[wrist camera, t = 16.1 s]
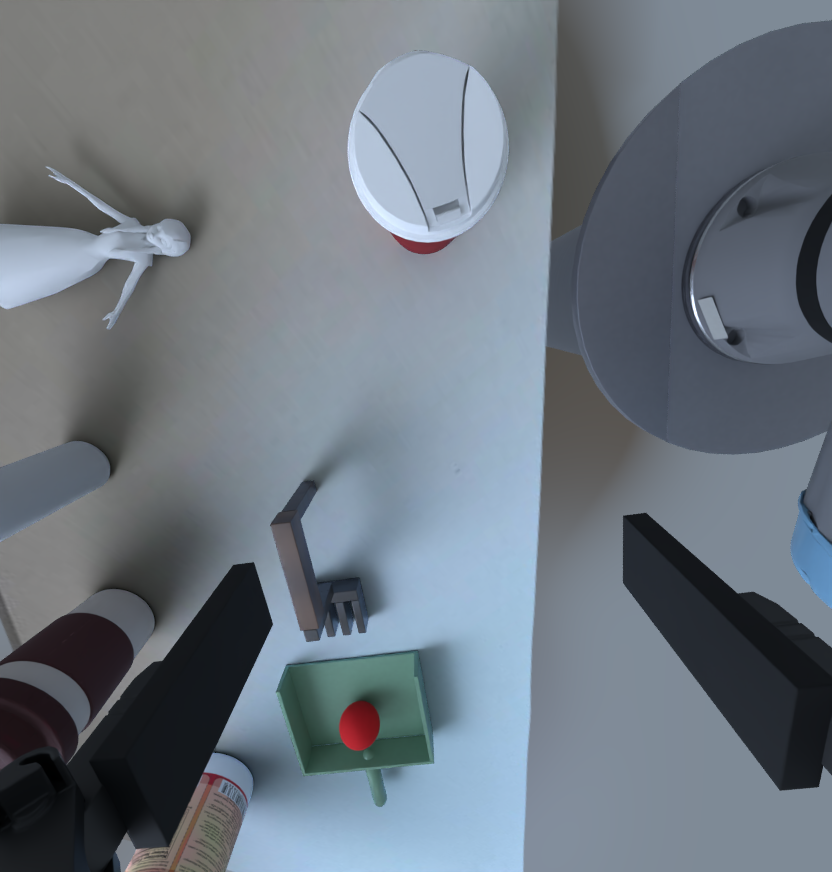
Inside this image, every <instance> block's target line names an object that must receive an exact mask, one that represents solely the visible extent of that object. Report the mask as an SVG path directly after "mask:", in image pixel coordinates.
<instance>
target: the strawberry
mask: <svg viewBox="0 0 832 872" xmlns="http://www.w3.org/2000/svg"><path fill="white" fill-rule="evenodd" d="M379 729H380V718H379V714H378V712H377V710H376V709H375V707H374V706H373V705H372V704H370V703H369V702H366V701H356V702H354V703H352V704H350V705H349V706H348V707H347V708H346V709H345V710H344V712H343V714H342V716H341V719H340V723H339V732H340V736H341V739H342V741H343V743H344V744H345V745H346V746H347V747H348V748H350V749H352V750H356V751H360V750H364V749H366V748H368V747H369V746H371V745H372V744H373V742H374V741H375V740H376V738H377V736H378V733H379Z"/></svg>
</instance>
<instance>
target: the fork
mask: <svg viewBox="0 0 832 872" xmlns="http://www.w3.org/2000/svg"><path fill="white" fill-rule="evenodd" d="M316 492H317V491H316V486H315V482H314V480H313V481H306V482H302V483H301V484H300V486H299V487H298V489H297V490H296V492H295V493H294V494H293V496H292V497H291V499H290V500H289V502H288V503H287V505H286V506H285V507H284V509H283V510H282V512H279V513H278V514H277V516H276V517H275V519H274V520H273V521H272V523H271V524H270V526H271V530H272V533H273V537H274V540H275V543H276V547H277V550H278V554H279V557H280V561H281V564H282V568H283V571H284V575H285V578H286V582H287V585H288V589H289V592H290V596H291V599H292V603H293V606H294V610H295V613H296V617H297V620H298V624H299V627H300V630H301V631H303V632H304V636H305V639H306V642H310V641H319V640H320V638H321V634H322V631H323V628H324V625H325V628H326V632H327V635H328V637H333V636H335V635H336V631H337V627H338V623H339V621H340V625H341V629H342V633H343V635H351V631H352V626H353V621H354V619H353V615H352V611H351V607H350V603H349V601H351V603H352V607H353V611H354V615H355V620H356V624H357V628H358V632H359V633H366V630H367V624H368V614H367V610H366V606H365V601H364V597H363V592H362V588H361V583H360V579H359V578H353V579H344V580H336V581H328V582H320V583H317V582H316V578H315V574H314V570H313V566H312V563H311V559H310V555H309V551H308V547H307V543H306V540H305V536H304V532H303V528H302V524H301V518H302V516H303V515H304V513H305V511H306V509H307V508H308V506H309V504H310V502H311V501H312V499H313V497H314V495H315V494H316ZM334 603H335V605H336V609H337V613H338V617H339V621H338V617H337V613H336V609H335V605H334Z"/></svg>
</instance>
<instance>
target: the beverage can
mask: <svg viewBox="0 0 832 872" xmlns="http://www.w3.org/2000/svg"><path fill="white" fill-rule="evenodd" d="M109 476H110V464H109V461H108V459H107V457H106V456H105V455H104V454H103V452H102V451H100V450H99V449H98V448H97V447H95V446H93V445H92V444H89V443H86V442H82V441H72V442H68V443H65V444H62V445H60V446H57V447H54V448H52V449H49V450H46V451H44V452H41V453H38V454H35V455H33V456H30V457H27V458H25V459H22V460H19V461H16V462H14V463H11V464H8V465H6V466H3V467H0V542H1V541H3V540H4V539H6V538H8V537H10V536H12V535H14V534H15V533H17V532H19V531H21V530H23V529H24V528H26V527H28V526H30V525H32V524H33V523H35V522H37V521H39V520H41V519H43V518H44V517H46V516H48V515H50V514H52V513H53V512H55V511H57V510H59V509H61V508H63V507H64V506H66V505H68V504H70V503H72V502H74V501H75V500H77V499H79V498H81V497H83V496H84V495H86V494H88V493H90V492H92V491H94V490H95V489H97V488H99V487H101V486H103V485H104V484H105V483H106V482H107V480H108V478H109Z"/></svg>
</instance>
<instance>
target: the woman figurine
mask: <svg viewBox="0 0 832 872" xmlns="http://www.w3.org/2000/svg"><path fill="white" fill-rule="evenodd" d="M46 168H48V169H50V170H51V171H52V172H54V173H53V174H54V175H56V177H54V176H51V175H48V176H49V177H52V178H54V179H56V180H57V181H59V182H62V183H67V184H69V185H70V186H71V187H73V188H74V189H75V190H77V191H78V192H80V193H81V194H82V195H84V196H85V197H86V198H88V199H89V201H91V202H92V203H93V204H94V205H95V206H96V207H97V208H98V209H99V210H101V211H103V212H104V213H106V214H108V215H109V216H111V217H113V218H114V219H116V220H117V221H118V222H119V223H121V224H120V225H118V226H116V227H114V228H109V227H108V228H106V229H103V230H102V231H100V232H101V233H103V234H101V235H99V236H97V235H94V234H92V233H89V232H87V231H83V230H79V229H73V228H65V227H50V226H33V225H16V224H0V306H1V307H3V308H5V309H10V308H13V307H17V306H20V305H23V304H26V303H29V302H32V301H35V300H38V299H41V298H44V297H47V296H50V295H53V294H56V293H58V292H60V291H62V290H64V289H66V288H68V287H70V286H72V285H74V284H76V283H78V282H80V281H82V280H85V279H87V278H89V277H91V276H93V275H94V274H96V273H97V272H98V271H100V270H101V269H102V267H103V265H104V264H105V262H106V261H107V260H108V259H110V258H113V259H123V260H128V261H134V262H135V264H134V267H133V270H132V272H131V274H130V276H129V277H128V279H127V281H126V283H125V285H124V288H123V291H122V296H121V298H120V300H119V302H118V304H117V306H116V309H115V311H113V312H110V313H109V314H107V315H106V316H105V317H104V318H103V320H106V319H107V318H109V319H110V322H109V324H108V326H107V328H106V329H111V328H112V327H113V325H114V324H115V323H116V321H117V319H118V316H119V315H120V313H121V311H122V309H123V308H124V306H125V304H126V302H127V301H128V299H129V297H130V296H131V295H132V293H133V291H134V289H135V286H136V284H137V282H138V280H139V279H140V277H141V275H142V274H143V272H144V271H145V270H146V268H147V267H148V266H152V263H153V254H157V255H164V254H165V255H168V256H175V257H177V256H180V255H183V254H184V253H185V252H186V251H187V250H188V249H189V248H190V242H191V235H190V233H189V231H188V230H187V228H186V227H185V226H184V224H183V223H182V222H180V221H178V220H175V219H164V220H162V221H161V222H160V223H157V224H155V225H152V226H142V225H141V224H140V223H139V221H138V220H137V219H136V218H135V217H134V218H130V217H128V216H126V215H124V214H122V213H120V212H118V211H116V210H115V209H113V208H112V207H110V206H109V205H107V204H106V203H104V202H103V201H102V200H100V199H99V198H97V197H96V196H94V195H92V194H91V193H89V192H88V191H86V190H85V189H83V188H82V187H80V186H79V185H77V184H76V183H75V182H73V181H72V180H70V179H68V178H67V177H65V176H64V175H62V174H61V173H59V172H58V171H56V170H55V169H53V168H50V167H47V166H46Z"/></svg>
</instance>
